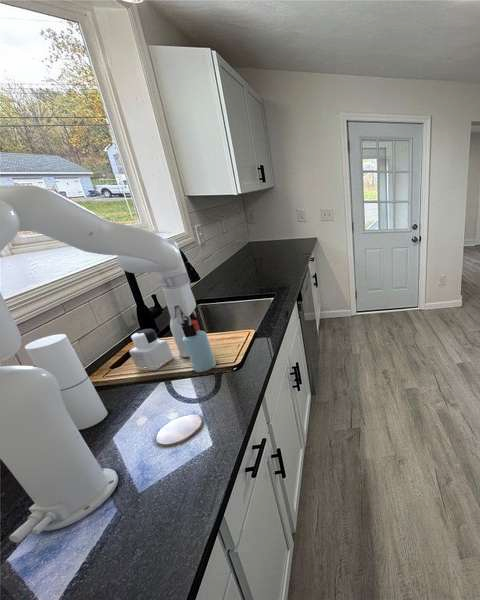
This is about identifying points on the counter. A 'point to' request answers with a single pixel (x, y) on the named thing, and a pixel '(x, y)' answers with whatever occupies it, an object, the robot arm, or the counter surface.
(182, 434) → the coaster
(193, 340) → the water bottle
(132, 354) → the container
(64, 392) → the cylindrical container
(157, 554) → the counter surface
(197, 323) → the cap
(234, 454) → the counter surface
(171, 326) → the milk bottle
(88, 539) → the counter surface
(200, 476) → the counter surface
